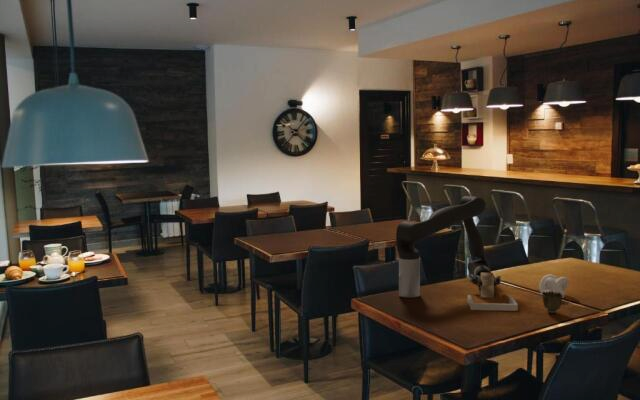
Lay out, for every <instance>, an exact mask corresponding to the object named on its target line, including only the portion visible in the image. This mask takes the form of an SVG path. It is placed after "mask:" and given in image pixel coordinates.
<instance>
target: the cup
mask: <svg viewBox="0 0 640 400" xmlns="http://www.w3.org/2000/svg"><path fill="white" fill-rule="evenodd" d="M542 294H543V295H542ZM542 294H541V295H542V302H543V306H544V307H545V309H547V310H546V312H547V313H548V314H550V315H555V314H557V312H558V310H559V309H560V308H561V306H562V303H563V298H562V296H563V295H561V294H560V292H558V293H557V292H555V294H554V292H553V291H552V292H550V291H549V292H546V293H545V292H543V293H542Z"/></svg>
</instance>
